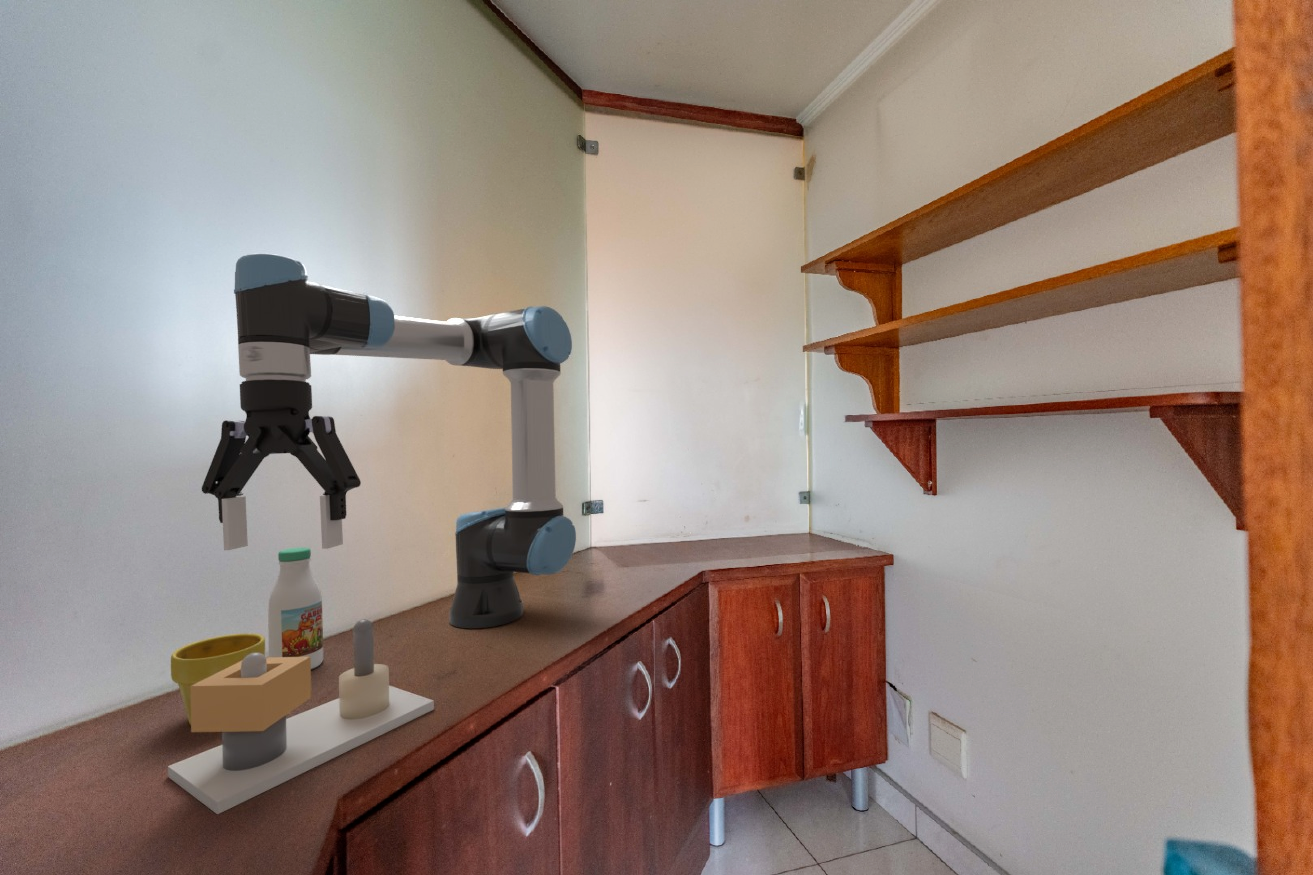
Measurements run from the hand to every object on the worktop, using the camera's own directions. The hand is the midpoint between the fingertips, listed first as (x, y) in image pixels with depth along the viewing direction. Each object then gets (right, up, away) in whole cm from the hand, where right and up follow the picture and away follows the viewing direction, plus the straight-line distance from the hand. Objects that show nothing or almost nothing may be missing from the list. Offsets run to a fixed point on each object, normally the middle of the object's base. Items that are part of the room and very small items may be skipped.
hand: (283, 547), depth 70 cm
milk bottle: (-14, -25, +23) cm, 37 cm away
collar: (+1, -18, -6) cm, 19 cm away
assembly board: (+4, -24, -1) cm, 24 cm away
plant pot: (-13, -25, +7) cm, 29 cm away
